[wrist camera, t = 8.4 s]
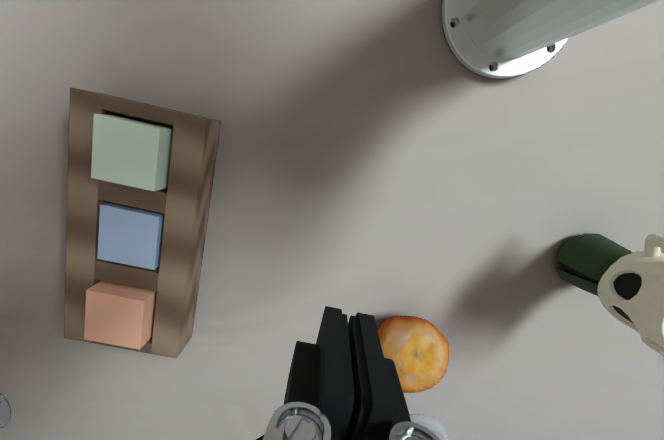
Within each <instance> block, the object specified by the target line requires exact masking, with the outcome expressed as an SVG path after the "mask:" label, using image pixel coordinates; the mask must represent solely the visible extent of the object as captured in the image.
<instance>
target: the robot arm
mask: <svg viewBox="0 0 664 440" xmlns="http://www.w3.org/2000/svg"><path fill="white" fill-rule="evenodd" d="M657 1H659V0H443V3H442V24H443V29H444V33H445V37H446V40H447V42H448V44H449V46H450V49H451V51H452V52H453V53H454V55H455V56H456V57H457V59H458V60H459V61H460V62H461V63H462V64H463V65H464V66H465V67H467V68H468V69H469V70H471V71H473V72H475V73H477V74H479V75H482V76H485V77H488V78H497V79H504V78H513V77H516V76H520V75H523V74H526V73H528V72H531V71H533V70H535V69H537V68H539V67H540V66H542V65H543V64H545V63H546V62H548V61H549V60H550V59H551V58H552V57H553V56H555V55H556V54H557V53H558V52H559V50H560V49H561V48H562V46H563V45H564V44H565V43H566V41H567V40H568V38H570V37H572V36H575V35H577V34H580V33H582V32H584V31H587V30H589V29H592V28H594V27H596V26H599V25H601V24H604V23H606V22H609V21H611V20H613V19H616V18H618V17H621V16H623V15H625V14H628V13H630V12H633V11H635V10H637V9H640V8H642V7H645V6H647V5H650V4H652V3H654V2H657ZM450 23H452V24H453V25H454V28H453V27H451V25H450ZM546 49H547V50H546ZM489 66H491V71H490V69H489ZM256 440H440V439H439V438H438V437H437V436H436V435H435V434H434V433H433V432H432V431H430V430H429V429H427V428H426V427H424V426H422V425H420V424H417V423H414V422H411V419H410V415H409V412H408V408H407V405H406V401H405V398H404V394H403V391H402V387H401V384H400V380H399V377H398V373H397V370H396V366H395V363H394V361H393V360H392V359H388V358H384V355H383V351H382V347H381V343H380V339H379V335H378V331H377V327H376V323H375V319H374V316H372V315H367V314H362V313H357V314H356V316H351V317H350V319H349V323H348V322H347V315H346V314H342V310H341V309H337V308H332V307H327V306H326V307H325V310H324V314H323V318H322V322H321V326H320V330H319V334H318V338H317V342H316V344H310V343H305V342H300V341H297V342H296V346H295V350H294V355H293V359H292V363H291V368H290V373H289V378H288V383H287V389H286V394H285V400H284V405H282V406H281V407H279V408H278V409H277V410H276V411H275V412H274V414H273V415H272V417H271V419H270V422H269V424H268V427H267V429H266V432H265V434H264V435H263V436H261V437H260V438H258V439H256Z"/></svg>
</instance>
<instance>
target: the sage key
mask: <svg viewBox="0 0 664 440" xmlns="http://www.w3.org/2000/svg"><path fill="white" fill-rule="evenodd" d="M173 130H174V129H173V128H168V127H164V126H159V125H155V124H151V123H146V122H142V121H137V120H133V119H129V118H124V117H120V116H114V115H104V114H94V118H93V141H92V165H91V178H94V179H99V180H103V181H108V182H113V183H117V184H122V185H127V186H131V187H136V188H141V189H145V190H150V191H157V190H161V189H164V188H167V187H168V179H169V169H170V159H171V149H172V139H173Z"/></svg>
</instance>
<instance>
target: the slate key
mask: <svg viewBox="0 0 664 440" xmlns="http://www.w3.org/2000/svg"><path fill="white" fill-rule="evenodd" d="M164 218H165V214H164V213H160V212H155V211H150V210H145V209H141V208H136V207H131V206H127V205H122V204H117V203H112V202H108V203H104V204H101V205H100V215H99V235H98V254H97V259H102V260H107V261H112V262H117V263H122V264H127V265H132V266H137V267H142V268H147V269H152V270H155V269H156V268H157V267H159V266H160V258H161V248H162V238H163V228H164Z"/></svg>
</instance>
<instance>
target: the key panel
mask: <svg viewBox="0 0 664 440" xmlns="http://www.w3.org/2000/svg"><path fill="white" fill-rule="evenodd" d="M94 114H104V115H114V116H120V117H124V118H129V119H133V120H137V121H142V122H146V123H151V124H155V125H159V126H164V127H168V128H173V129H174V130H173V139H172V149H171V159H170V169H169V179H168V187H167V188H164V189H161V190H157V191H150V190H145V189H141V188H136V187H131V186H127V185H122V184H117V183H113V182H108V181H103V180H99V179H94V178H91V165H92V141H93V118H94ZM220 124H221V121H218V120H214V119H209V118H205V117H201V116H196V115H192V114H188V113H183V112H179V111H175V110H170V109H166V108H162V107H157V106H153V105H149V104H144V103H140V102H136V101H131V100H127V99H123V98H118V97H114V96H110V95H105V94H101V93H96V92H90V91H85V90H80V89H75V88H70V114H69V154H68V194H67V233H66V273H65V313H64V338H69V339H75V340H80V341H85V342H91V343H96V344H102V345H107V346H113V347H118V348H123V349H129V350H134V351H140V352H145V353H150V354H156V355H161V356H167V357H172V358H177V357H178V356H179V354H180V353H181V351H182V350H183V348H184V347H185V346H186V344H187V343H188V341H189V340H190V338H191V337H192V331H193V324H194V316H195V309H196V301H197V294H198V287H199V279H200V272H201V264H202V257H203V250H204V242H205V235H206V227H207V220H208V213H209V205H210V198H211V191H212V183H213V176H214V168H215V161H216V154H217V146H218V139H219V131H220ZM108 202H112V203H117V204H122V205H127V206H131V207H136V208H141V209H145V210H150V211H155V212H160V213H164V214H165V218H164V228H163V238H162V248H161V258H160V266H159V267H157V268H156V269H155V270H152V269H147V268H142V267H137V266H132V265H127V264H122V263H117V262H112V261H107V260H102V259H97V254H98V235H99V215H100V205H101V204H104V203H108ZM101 280H103V281H108V282H113V283H118V284H124V285H129V286H134V287H139V288H144V289H149V290H154V291H157V297H156V307H155V317H154V327H153V336H152V337H151V338H150V339H149V340H148V341H147V342H146V343H145V344H144V346H143V347H142V348H141V349H140V350H139V349H133V348H128V347H122V346H117V345H112V344H106V343H101V342H95V341H90V340H85V339H84V329H85V305H86V290H87V289H89V288H90V287H92V286H93V285H95V284H97V283H98V282H100V281H101Z"/></svg>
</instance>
